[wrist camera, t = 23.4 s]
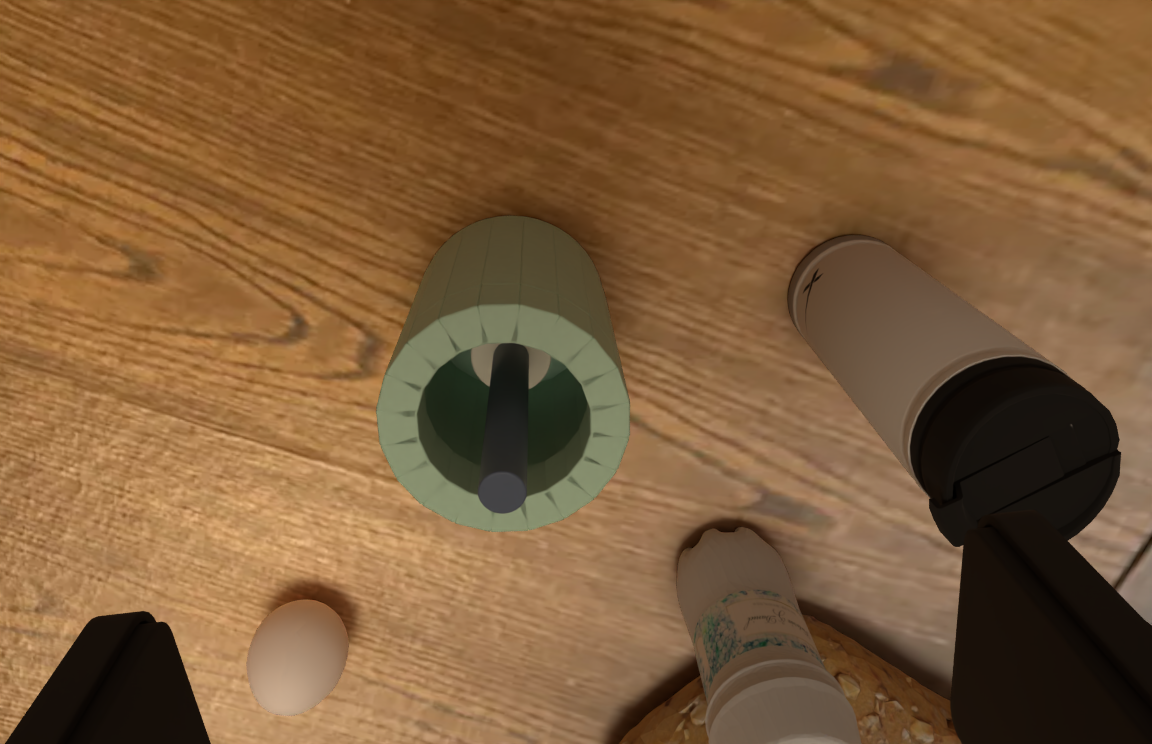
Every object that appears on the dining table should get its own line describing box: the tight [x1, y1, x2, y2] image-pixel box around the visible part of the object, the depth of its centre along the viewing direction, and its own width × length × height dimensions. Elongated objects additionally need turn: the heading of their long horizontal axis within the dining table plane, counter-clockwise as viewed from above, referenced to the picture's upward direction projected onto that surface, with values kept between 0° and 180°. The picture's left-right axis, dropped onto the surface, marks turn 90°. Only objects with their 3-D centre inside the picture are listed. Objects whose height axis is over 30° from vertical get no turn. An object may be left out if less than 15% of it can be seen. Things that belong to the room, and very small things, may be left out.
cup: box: [376, 216, 630, 532], centre depth 40 cm, size 9×9×14 cm
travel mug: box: [788, 235, 1121, 547], centre depth 38 cm, size 6×7×20 cm
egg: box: [247, 599, 349, 716], centre depth 50 cm, size 5×5×7 cm
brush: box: [471, 343, 551, 514], centre depth 38 cm, size 4×4×18 cm
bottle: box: [676, 527, 862, 744], centre depth 44 cm, size 7×7×20 cm
